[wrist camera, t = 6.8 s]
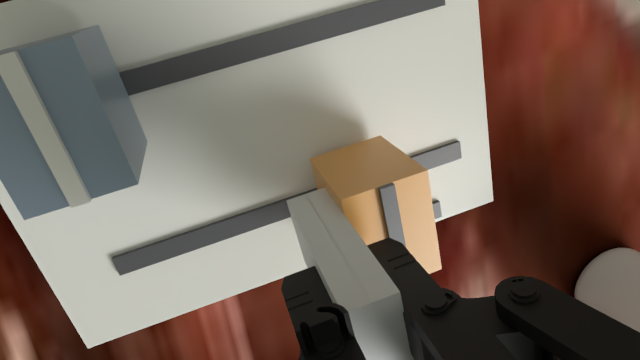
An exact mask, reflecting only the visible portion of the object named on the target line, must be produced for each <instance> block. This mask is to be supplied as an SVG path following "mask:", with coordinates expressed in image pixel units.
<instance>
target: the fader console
mask: <svg viewBox="0 0 640 360" xmlns="http://www.w3.org/2000/svg"><path fill="white" fill-rule="evenodd" d="M95 25H99V27H100V29H101V32H102V34H103V36H104V39H105V41H106V43H107V46H108V48H109V51H110V53H111V55H112V58H113V60H114V63H115V65H116V67H117V70H118V72H119V74H120V77H121V79H122V82H123V84H124V86H125V89H126V91H127V94H128V96H129V98H130V101H131V103H132V105H133V108H134V110H135V113H136V115H137V117H138V120H139V122H140V125H141V127H142V129H143V132H144V134H145V136H146V139H147V141H148V142H147V147H146V151H145V156H144V160H143V165H142V169H141V174H140V179H139V183H138V185H134V186H131V187H128V188H125V189H122V190H119V191H116V192H112V193H109V194H106V195H103V196H100V197H97V198H93V199H92V200H91V202H89V203H86V204H83V205H80V206H76V207H73V208H71V207H70V206H68V207H65V208H62V209H59V210H55V211H52V212H49V213H46V214H43V215H40V216H37V217H33V218H30V219H27V220H24V219H23V217H22V216H21V214H20V212H19V211H18V209H17V207H16V206H15V204H14V202H13V200H12V199H11V197H10V195H9V194H8V192H7V190H6V189H5V187H4V185H3V183H2V182H1V180H0V204H1V205H2V207H3V209H4V210H5V212H6V214H7V215H8V217H9V219H10V220H11V222H12V224H13V225H14V227H15V229H16V230H17V232H18V234H19V235H20V237H21V239H22V240H23V242H24V244H25V245H26V247H27V248H28V250H29V252H30V253H31V255H32V257H33V258H34V260H35V262H36V263H37V265H38V267H39V268H40V270H41V272H42V273H43V275H44V277H45V278H46V280H47V282H48V283H49V285H50V287H51V288H52V290H53V292H54V293H55V295H56V297H57V298H58V300H59V301H60V303H61V305H62V306H63V308H64V310H65V311H66V313H67V315H68V316H69V318H70V320H71V321H72V323H73V325H74V326H75V328H76V330H77V331H78V333H79V335H80V336H81V338H82V340H83V341H84V343H85V345H86V346H87V348H91V347H94V346H96V345H99V344H102V343H105V342H107V341H110V340H113V339H116V338H118V337H121V336H124V335H127V334H129V333H132V332H135V331H138V330H140V329H143V328H146V327H149V326H151V325H154V324H157V323H160V322H162V321H165V320H168V319H171V318H173V317H176V316H179V315H182V314H184V313H187V312H190V311H193V310H195V309H198V308H201V307H204V306H206V305H209V304H212V303H215V302H217V301H220V300H223V299H226V298H228V297H231V296H234V295H237V294H239V293H242V292H245V291H248V290H250V289H253V288H256V287H259V286H261V285H264V284H267V283H269V282H272V281H275V280H278V279H280V278H283V277H285V276H288V275H291V274H293V273H296V272H299V271H302V270H304V269H307V265H306V263H305V261H304V258H303V254H302V251H301V248H300V244H299V241H298V238H297V234H296V231H295V228H294V224H293V221H292V218H291V215H290V211H289V208H288V205H287V201H286V200H289V199H292V198H295V197H298V196H301V195H304V194H307V193H310V192H313V191H316V190H318V189H317V185H316V182H315V178H314V174H313V170H312V166H311V162H310V159H309V158H312V157H316V156H319V155H322V154H325V153H328V152H331V151H334V150H337V149H340V148H343V147H346V146H349V145H352V144H355V143H358V142H362V141H365V140H368V139H371V138H374V137H377V136H382V137H383V138H385V139H386V140H387V141H389V142H390V143H391V144H393V145H394V146H395V147H397V148H398V149H400V150H401V151H402V152H404V153H405V154H406V155H408V156H409V157H410V158H412V159H413V160H415V161H416V162H417V163H419V164H420V165H421V166H423V167H424V168H426V169H427V170H428V176H429V183H430V190H431V197H432V204H433V211H434V218H435V222H437V221H440V220H443V219H445V218H448V217H451V216H454V215H456V214H459V213H462V212H465V211H467V210H470V209H473V208H476V207H478V206H481V205H484V204H487V203H489V202H492V201H493V188H492V176H491V163H490V150H489V137H488V124H487V111H486V98H485V85H484V73H483V60H482V47H481V34H480V21H479V8H478V0H12V1H8V2H3V3H0V50H3V49H7V48H11V47H15V46H19V45H22V44H26V43H30V42H34V41H38V40H42V39H45V38H49V37H53V36H57V35H61V34H65V33H68V32H72V31H76V30H80V29H84V28H88V27H91V26H95Z"/></svg>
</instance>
